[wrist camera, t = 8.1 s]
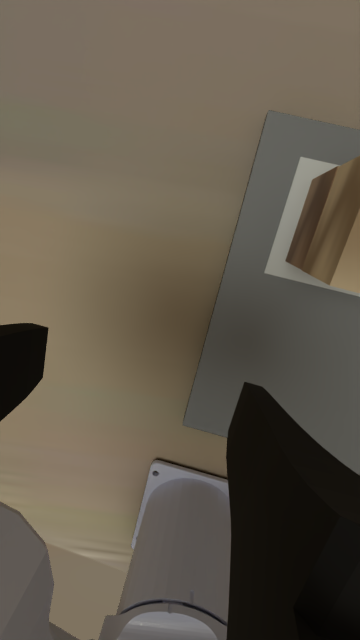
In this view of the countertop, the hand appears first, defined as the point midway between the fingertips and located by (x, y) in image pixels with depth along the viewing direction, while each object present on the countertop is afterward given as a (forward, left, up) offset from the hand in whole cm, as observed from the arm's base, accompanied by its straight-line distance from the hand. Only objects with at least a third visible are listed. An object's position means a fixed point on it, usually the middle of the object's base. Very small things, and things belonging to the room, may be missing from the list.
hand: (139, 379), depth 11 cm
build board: (+2, -10, -10) cm, 14 cm away
